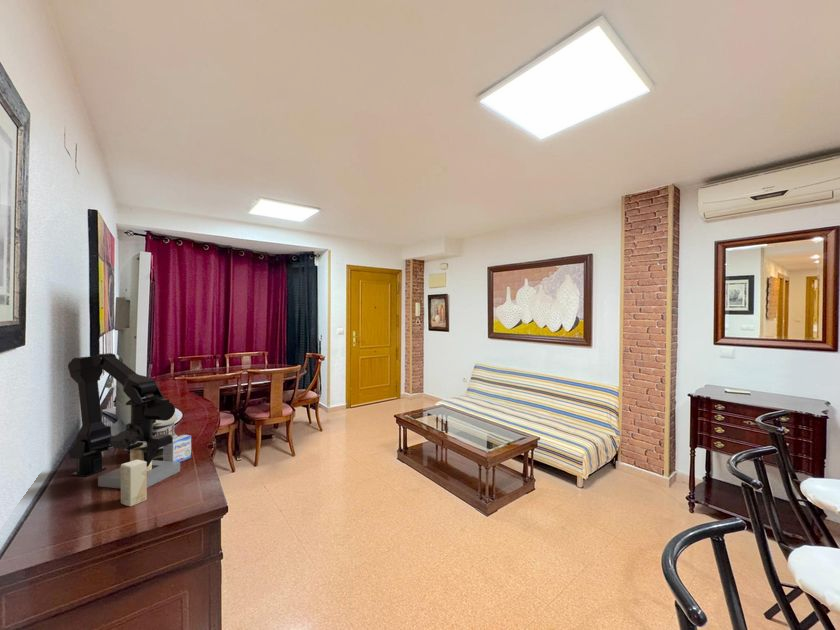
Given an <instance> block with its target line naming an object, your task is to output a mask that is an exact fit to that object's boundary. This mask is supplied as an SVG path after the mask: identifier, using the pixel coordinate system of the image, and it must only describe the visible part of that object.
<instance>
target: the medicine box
mask: <svg viewBox="0 0 840 630" xmlns="http://www.w3.org/2000/svg"><path fill="white" fill-rule="evenodd" d="M177 436H178V437H175V438H173V443H171V444H168V445H166V446H163V460H162V461H170V462H181V463H183V462H185V461H187V460H189V459H191V458H192V435H189V434H181V435H177ZM182 461H183V462H182Z"/></svg>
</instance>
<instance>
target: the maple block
mask: <svg viewBox="0 0 840 630" xmlns="http://www.w3.org/2000/svg"><path fill="white" fill-rule="evenodd" d="M143 447H145V446H139V447H137V448H134V449H131V450H130V457H129V462H130V461H134V460H142V461H144V452H143V451H142V450H140V448H143ZM151 469H152V461H151V463H150V464H149V466H147V471H149V470H151Z"/></svg>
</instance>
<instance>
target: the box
mask: <svg viewBox="0 0 840 630" xmlns="http://www.w3.org/2000/svg"><path fill="white" fill-rule="evenodd" d="M120 468H121V488H120V504H122V505H124V506H127V507H133V506H136V505H138V504H140V503H142V502H144V501H147V500H148V499H147V498H148V489H147V488H148V487H147V462H145V461H142V460H134V461H130V460H129V461H128V462H124V463H121V464H120Z"/></svg>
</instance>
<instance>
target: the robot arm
mask: <svg viewBox="0 0 840 630" xmlns="http://www.w3.org/2000/svg"><path fill="white" fill-rule="evenodd" d="M67 369H68V371H69V375H70V378H71V379H72V380H74V381H75V383H76V384H77V385H78V386H77V387H78V396H79V397H78V398H79V406H80V414H81V415H80V416H81V428H80V429H79V431H78V433H77V435H76V443H75V444H74V445H73V447H71V449H70V450H69V451H68V455H69V458H70V459H75V460H76V471H75V472H72V473H71V476H79V477H89V476H91V475H94V474H96V473H99V472H101V471H104V470H106V469H107V466H103V452H105V451H108V450H109V447H110V446H112V447H113V449H114V450H115V449H118V450H119V449H120V450H124V451H125V452H126V453H127V454H128V457H129V458H130V450H131V449H134V448H137V447H139V446H142V444H143V443H146V446H145V447H143V448H140V450H142V451H143V452H144V461H145V462H147V466H149V464H150V463H151V461H152V459H153V457H154V455H155V453H156V452H157V450H158V449H159V448H161V447H163V446H166V445H168V444H171V443H173V436H171V435H167V434H161V435H158V436H155V437H152V436H154V435H156V432H153V423H156V420H162V421H166V420H169V419H170V418H172V416H173V415H174V413H176V407H175V406H174V404H173V403H172V402H170V398H165V396H164V393H163V392H162V391H161V390H160V389H161V388H159V386H158V384H157V382H156V381H155V380H154V379H152V378H150V377H149V376H146V375H143V374H138V373H136V372H135V371H134V370H132V368H130V367H129V366H127V364H125V363H123V361H122V360H120V359H119V358H118V357H117V356H116V354H115V353H110V352H108V353H107V352H105V353H97V354H95V355H91V356H79V357H74V358H72V359H71V361H69V362H68V365H67ZM104 371H105V372H106V373H107V374H108V375H110V376H111V377H112V378H113V379H115V381H116V382H118V383H120V384H121V386H122V391H123V392H124V394H125V395H126V396H127V397H128V398H129V400H128V401H127V402H126V403H125V405H126V406H130V422H128V423H127V424H126V426H125V429H124V430H123V431H120V432H119V433H117V434H114V435H112V428H111V425H106V424H105V423H104V422H103V418H102V409H101V402H100V400H101V399H100V390H99V380H100V377H102V374H103V373H104Z"/></svg>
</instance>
